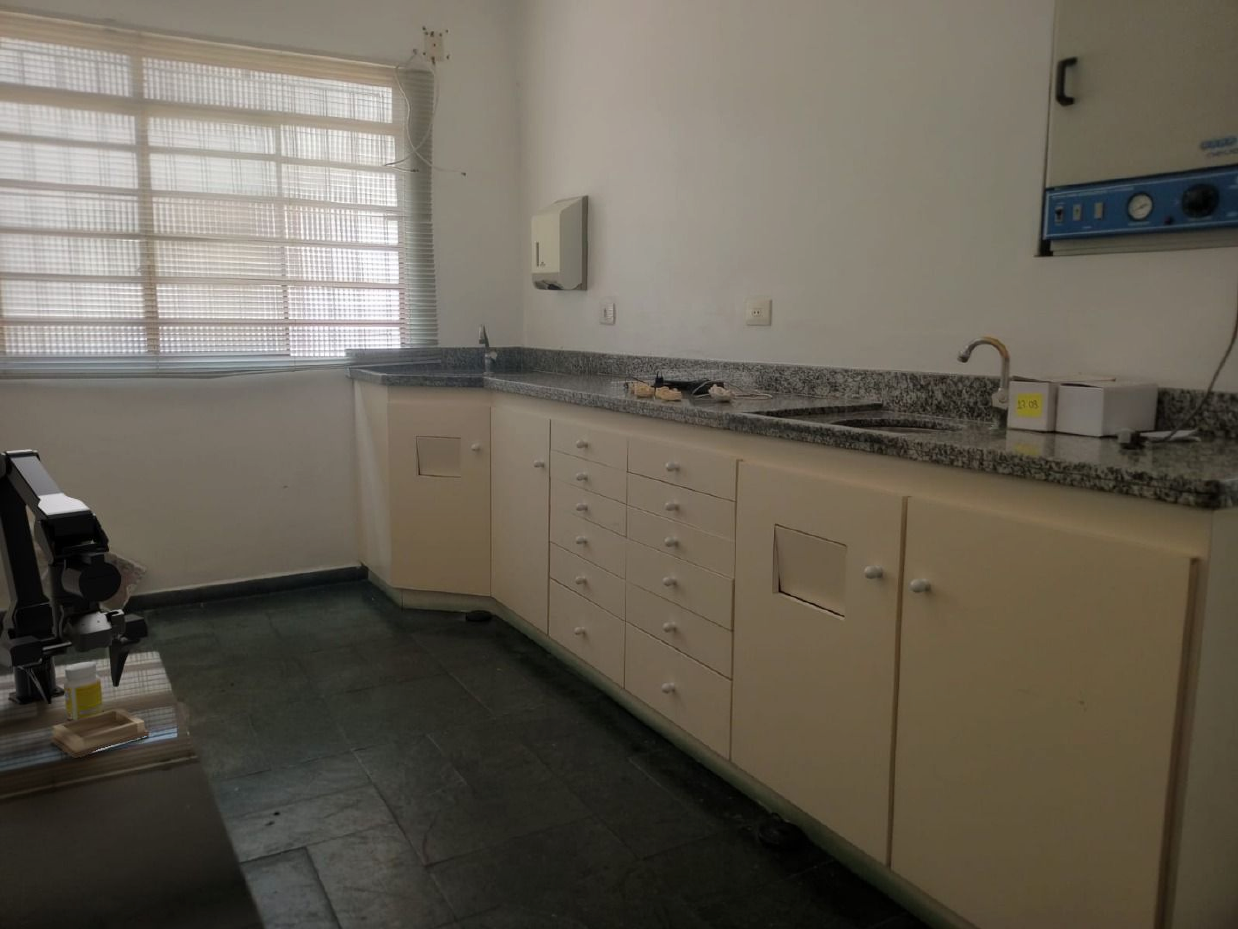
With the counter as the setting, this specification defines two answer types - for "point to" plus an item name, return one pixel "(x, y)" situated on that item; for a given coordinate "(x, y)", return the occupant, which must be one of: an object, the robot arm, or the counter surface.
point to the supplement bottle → (82, 691)
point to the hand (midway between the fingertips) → (83, 694)
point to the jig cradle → (97, 732)
